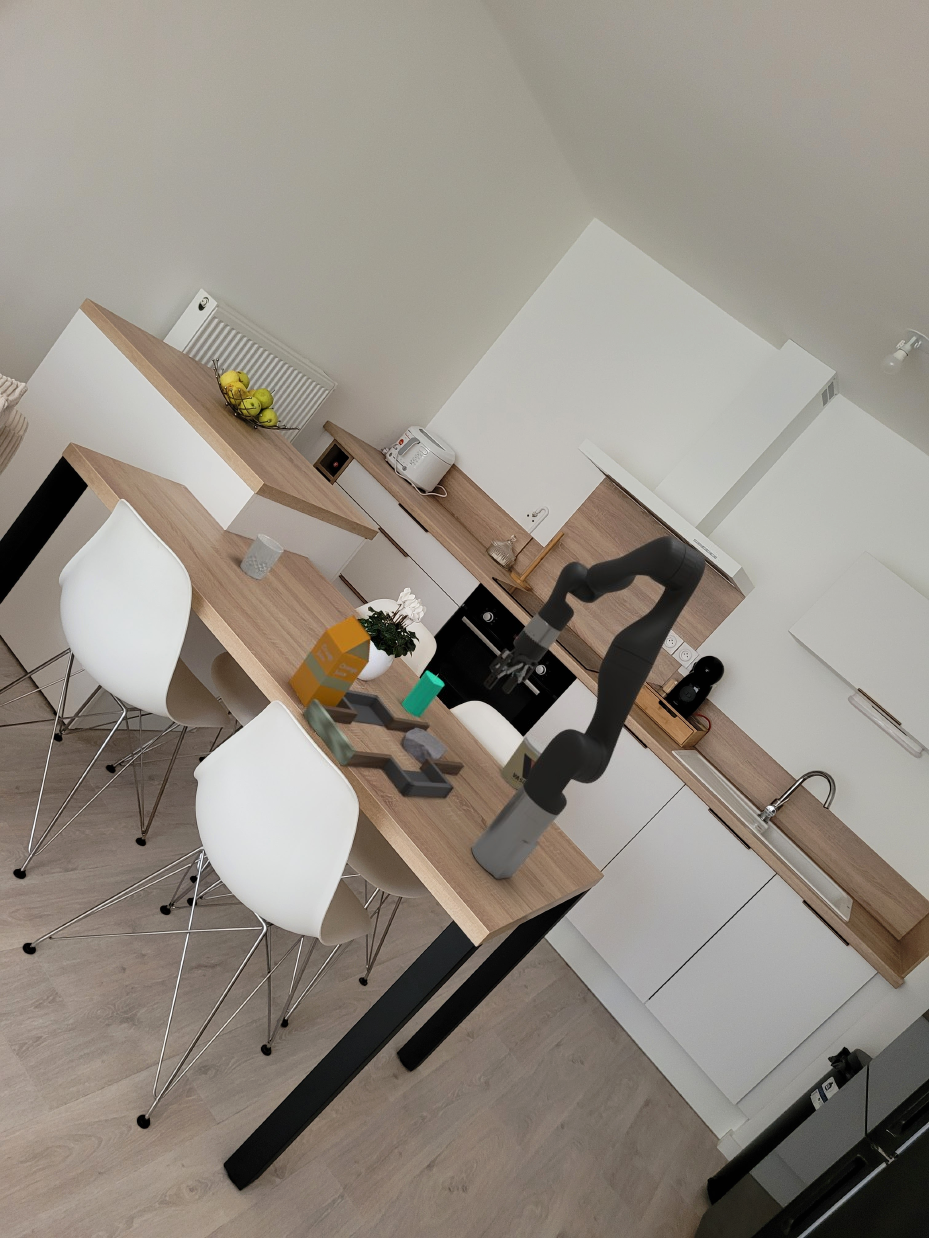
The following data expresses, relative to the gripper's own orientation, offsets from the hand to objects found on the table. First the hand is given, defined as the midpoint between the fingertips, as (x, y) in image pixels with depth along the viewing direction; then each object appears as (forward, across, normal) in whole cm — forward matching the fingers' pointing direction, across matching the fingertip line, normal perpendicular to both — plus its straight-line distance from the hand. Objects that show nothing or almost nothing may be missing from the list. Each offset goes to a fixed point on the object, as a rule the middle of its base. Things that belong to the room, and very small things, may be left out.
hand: (495, 689), depth 196 cm
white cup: (+22, -20, +70) cm, 76 cm away
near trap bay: (+20, -24, -12) cm, 33 cm away
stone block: (+21, -11, 0) cm, 24 cm away
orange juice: (+21, -37, +14) cm, 45 cm away
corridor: (+20, -24, 0) cm, 31 cm away
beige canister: (+21, +23, -9) cm, 32 cm away
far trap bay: (+21, -24, +12) cm, 33 cm away
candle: (+21, +2, +17) cm, 27 cm away
